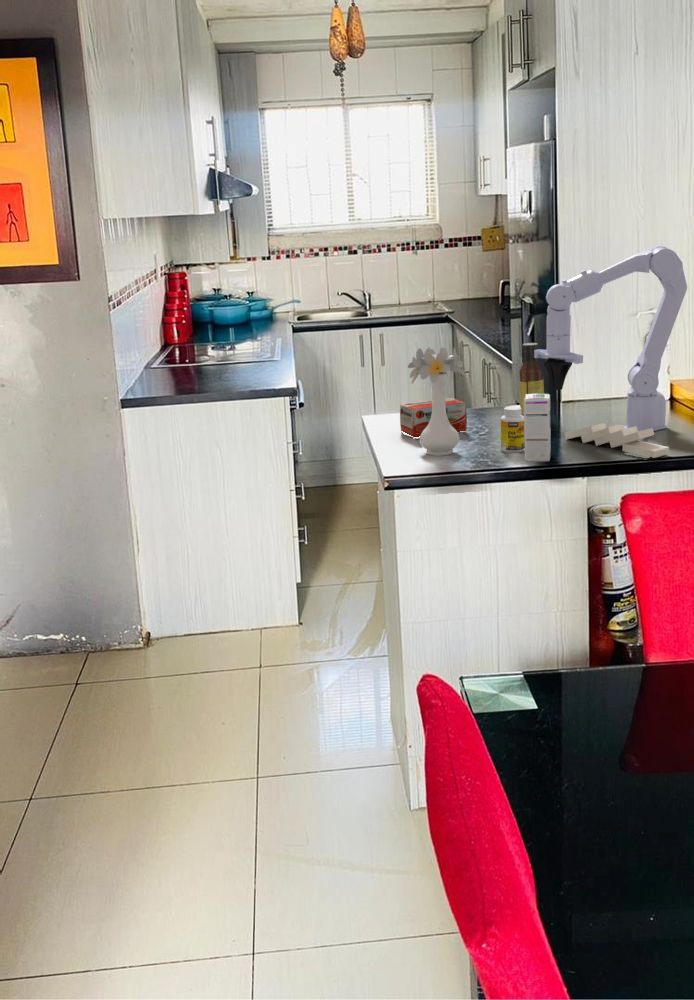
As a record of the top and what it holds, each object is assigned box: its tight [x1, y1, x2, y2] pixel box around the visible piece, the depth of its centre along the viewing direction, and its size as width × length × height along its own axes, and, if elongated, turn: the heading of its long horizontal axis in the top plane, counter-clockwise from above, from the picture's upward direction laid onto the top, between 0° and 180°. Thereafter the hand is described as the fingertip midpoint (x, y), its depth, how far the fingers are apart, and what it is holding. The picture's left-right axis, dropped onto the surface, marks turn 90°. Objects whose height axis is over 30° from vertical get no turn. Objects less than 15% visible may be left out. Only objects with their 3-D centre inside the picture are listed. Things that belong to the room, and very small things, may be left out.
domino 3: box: [593, 426, 638, 447], centre depth 246 cm, size 2×5×9 cm
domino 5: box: [622, 440, 670, 459], centre depth 240 cm, size 2×5×9 cm
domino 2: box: [580, 423, 624, 444], centre depth 249 cm, size 2×5×9 cm
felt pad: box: [623, 452, 648, 458], centre depth 239 cm, size 6×6×1 cm
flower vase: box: [407, 346, 468, 457], centre depth 246 cm, size 13×18×25 cm
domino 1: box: [564, 422, 607, 440], centre depth 254 cm, size 2×5×9 cm
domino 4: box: [609, 428, 655, 449], centre depth 242 cm, size 2×5×9 cm
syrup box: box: [524, 393, 552, 462], centre depth 238 cm, size 6×6×14 cm
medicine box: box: [399, 397, 468, 437], centre depth 268 cm, size 15×8×8 cm, turn 112°
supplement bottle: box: [500, 405, 525, 454], centre depth 247 cm, size 6×6×10 cm
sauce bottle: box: [518, 342, 545, 416], centre depth 276 cm, size 6×6×20 cm
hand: (557, 389), depth 263 cm, fingers closed
